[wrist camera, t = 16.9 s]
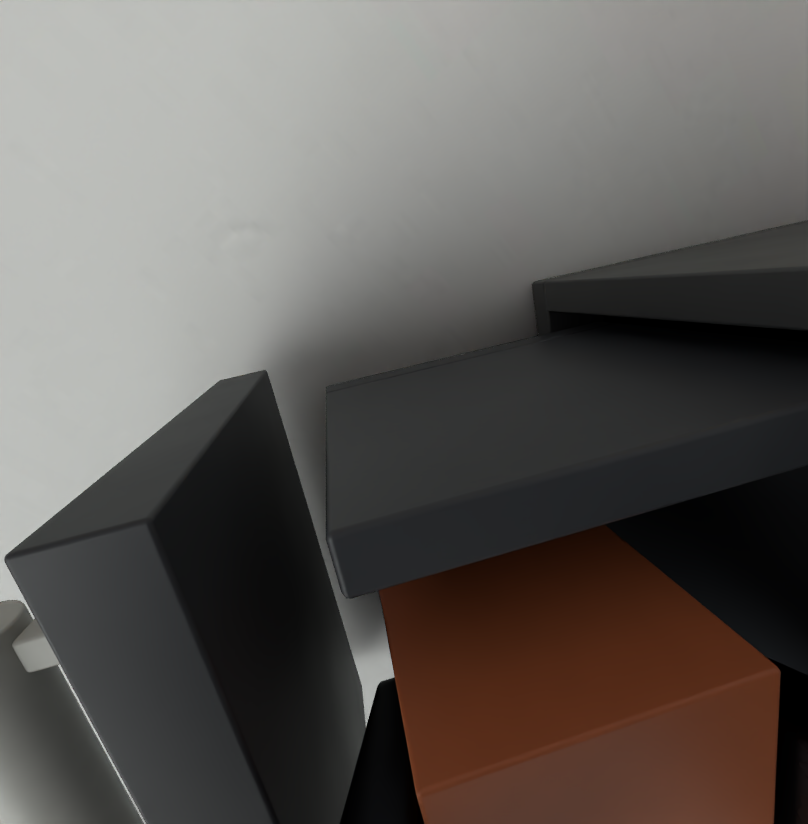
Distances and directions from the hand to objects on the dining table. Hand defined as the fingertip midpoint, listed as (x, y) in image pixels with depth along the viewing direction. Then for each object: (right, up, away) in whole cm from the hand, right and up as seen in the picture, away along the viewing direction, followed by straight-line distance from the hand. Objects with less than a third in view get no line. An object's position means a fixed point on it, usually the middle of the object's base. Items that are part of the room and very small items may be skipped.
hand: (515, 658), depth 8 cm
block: (0, 0, +1) cm, 1 cm away
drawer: (-3, +1, +5) cm, 6 cm away
